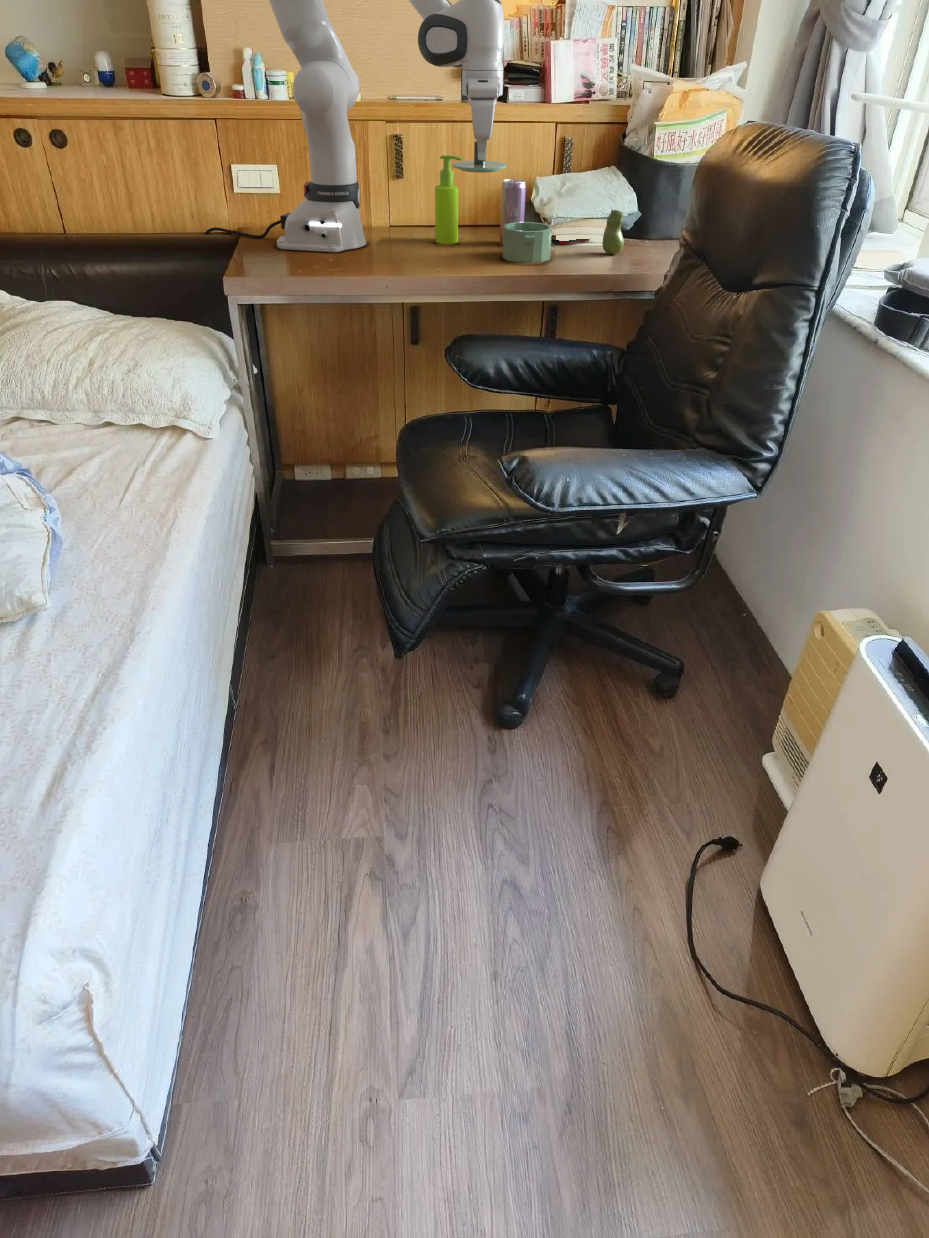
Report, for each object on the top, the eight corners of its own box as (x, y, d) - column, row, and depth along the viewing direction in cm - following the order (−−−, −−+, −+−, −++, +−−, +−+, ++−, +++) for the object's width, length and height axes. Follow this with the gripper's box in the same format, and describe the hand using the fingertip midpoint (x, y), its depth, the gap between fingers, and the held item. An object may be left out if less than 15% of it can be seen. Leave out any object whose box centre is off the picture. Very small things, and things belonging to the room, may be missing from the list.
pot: (503, 267, 193) (505, 233, 189) (501, 251, 206) (502, 219, 202) (552, 268, 193) (554, 234, 189) (546, 252, 207) (548, 220, 202)
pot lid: (451, 173, 182) (452, 144, 179) (452, 165, 193) (452, 138, 189) (507, 174, 183) (508, 145, 179) (505, 166, 193) (506, 138, 189)
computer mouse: (593, 241, 217) (595, 225, 215) (560, 246, 212) (562, 229, 210) (578, 237, 221) (580, 221, 219) (546, 241, 217) (547, 224, 214)
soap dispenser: (457, 247, 209) (458, 157, 198) (431, 244, 211) (431, 156, 199) (464, 242, 214) (466, 154, 202) (439, 240, 216) (439, 153, 204)
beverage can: (523, 244, 213) (526, 179, 204) (522, 249, 208) (525, 183, 200) (500, 243, 214) (502, 178, 205) (498, 248, 209) (501, 182, 200)
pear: (602, 251, 208) (607, 207, 202) (623, 252, 207) (629, 208, 201) (600, 255, 204) (604, 211, 198) (621, 257, 203) (626, 213, 197)
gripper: (467, 83, 187) (467, 152, 195) (468, 89, 170) (467, 164, 178) (495, 83, 187) (494, 153, 195) (498, 89, 170) (496, 165, 178)
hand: (481, 158), depth 186 cm, fingers closed on pot lid, 2 cm apart
